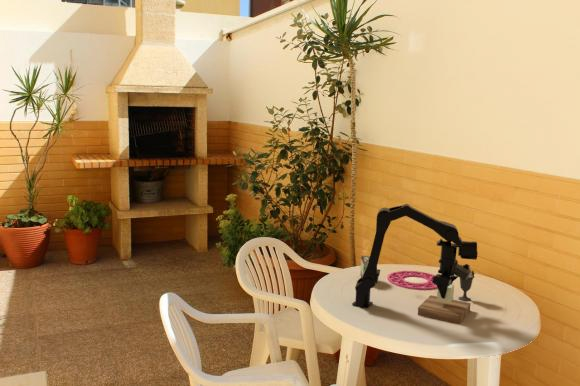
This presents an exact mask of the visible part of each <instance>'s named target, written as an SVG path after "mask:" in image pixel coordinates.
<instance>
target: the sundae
mask: <svg viewBox="0 0 580 386" xmlns="http://www.w3.org/2000/svg"><path fill="white" fill-rule="evenodd" d="M464 265H465V264H462V266H464ZM475 278H476V276H475V271H474V270H471V273H470V274H469V276H468V278H467V279H466V280H462V279H461V278H460V277H459V285H460V289H461V290H462V291H463V295H462V296H459V297H458V299H459V300H458V301H462V302H470V301H471V298H470V297H468V296H467V292H469V290H470V289H471V288H472V285H473V280H474V279H475Z"/></svg>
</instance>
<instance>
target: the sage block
mask: <svg viewBox="0 0 580 386" xmlns="http://www.w3.org/2000/svg"><path fill="white" fill-rule="evenodd" d="M436 291H437V293H436V296H437V301H440V302H445V303H451V301H452V300H454V295H455V294H454V293H455V284H453V283H452V284H451V285H450V286H448V288H447V292H446V296H445V299H443V298H442V297H441V295H440V292H439V290H438V289H437V290H436Z"/></svg>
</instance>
